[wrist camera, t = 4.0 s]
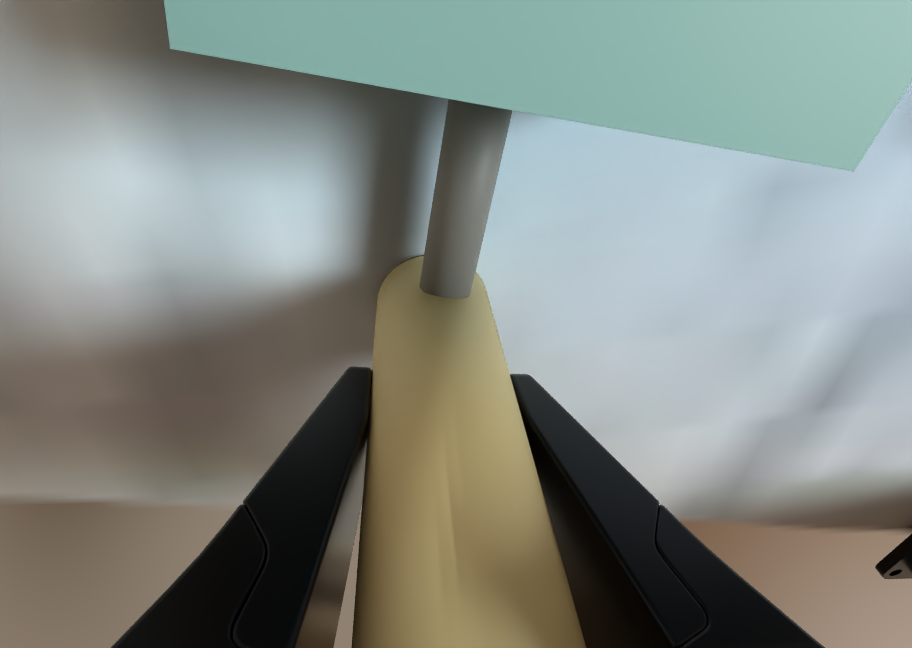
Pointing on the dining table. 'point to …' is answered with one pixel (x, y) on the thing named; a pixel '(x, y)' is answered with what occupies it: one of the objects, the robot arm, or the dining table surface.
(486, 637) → the teal cube mallet
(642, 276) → the dining table surface
